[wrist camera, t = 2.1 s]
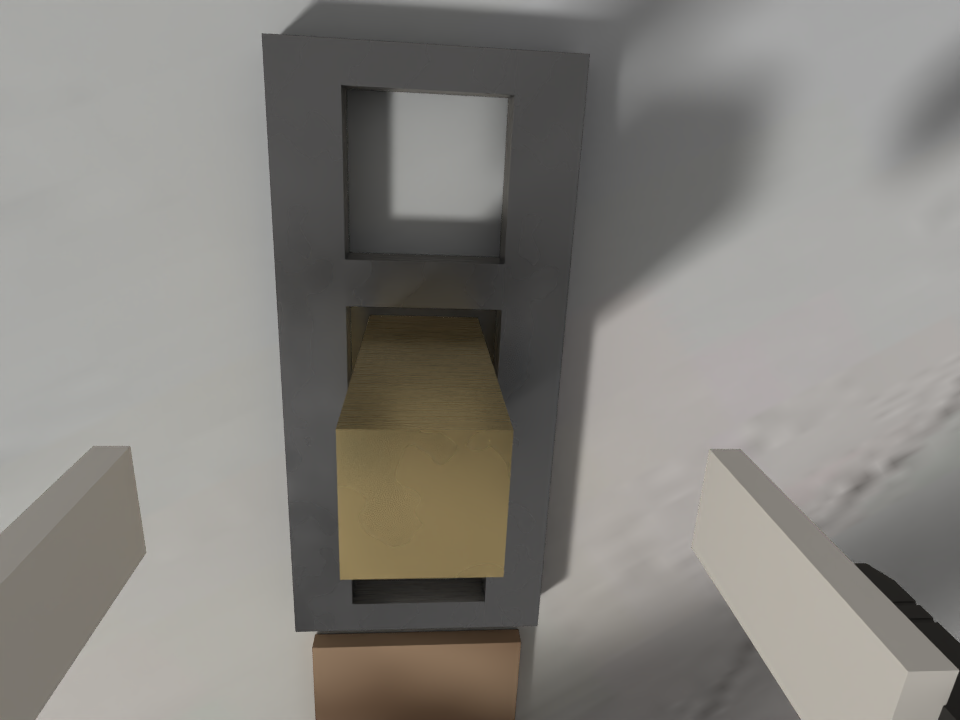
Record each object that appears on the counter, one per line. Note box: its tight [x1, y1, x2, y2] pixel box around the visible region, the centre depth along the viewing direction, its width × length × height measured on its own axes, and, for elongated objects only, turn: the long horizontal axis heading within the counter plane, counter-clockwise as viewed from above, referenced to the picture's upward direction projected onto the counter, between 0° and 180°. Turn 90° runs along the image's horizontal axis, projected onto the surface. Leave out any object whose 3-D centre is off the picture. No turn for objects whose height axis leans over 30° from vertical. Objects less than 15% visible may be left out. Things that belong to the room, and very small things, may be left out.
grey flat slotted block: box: [262, 33, 590, 632], centre depth 24 cm, size 22×10×2 cm, turn 177°
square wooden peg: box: [336, 315, 514, 580], centre depth 20 cm, size 4×4×10 cm
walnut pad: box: [312, 629, 521, 720], centre depth 29 cm, size 9×9×1 cm
